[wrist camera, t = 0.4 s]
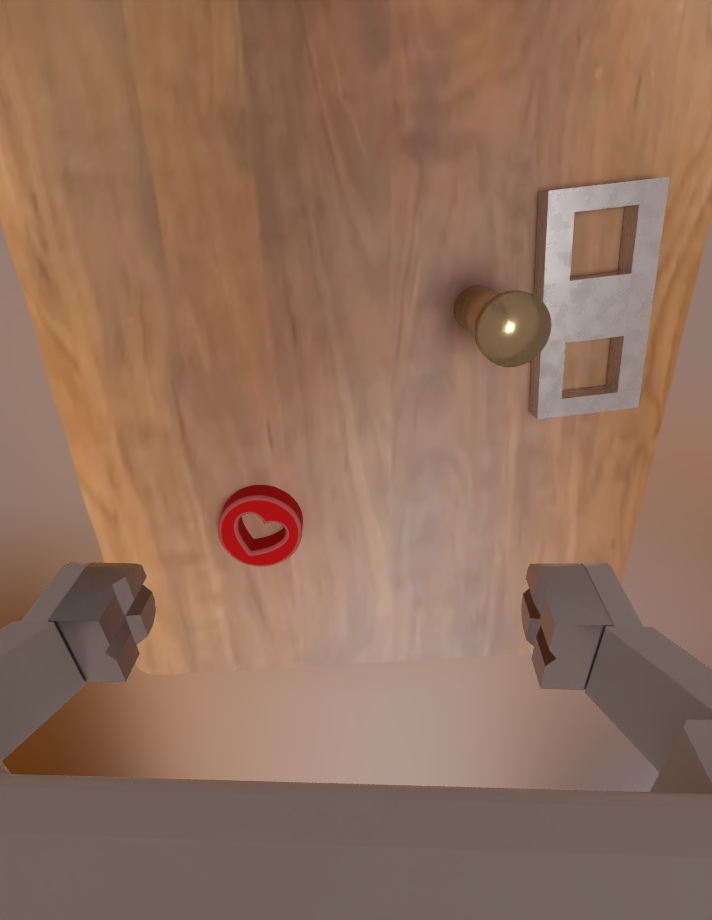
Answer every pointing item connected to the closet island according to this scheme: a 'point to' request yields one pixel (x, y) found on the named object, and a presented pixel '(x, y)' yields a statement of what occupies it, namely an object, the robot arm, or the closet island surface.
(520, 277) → the closet island surface
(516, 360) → the brass capped peg
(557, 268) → the plate
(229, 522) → the decorative ornament
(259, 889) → the robot arm
